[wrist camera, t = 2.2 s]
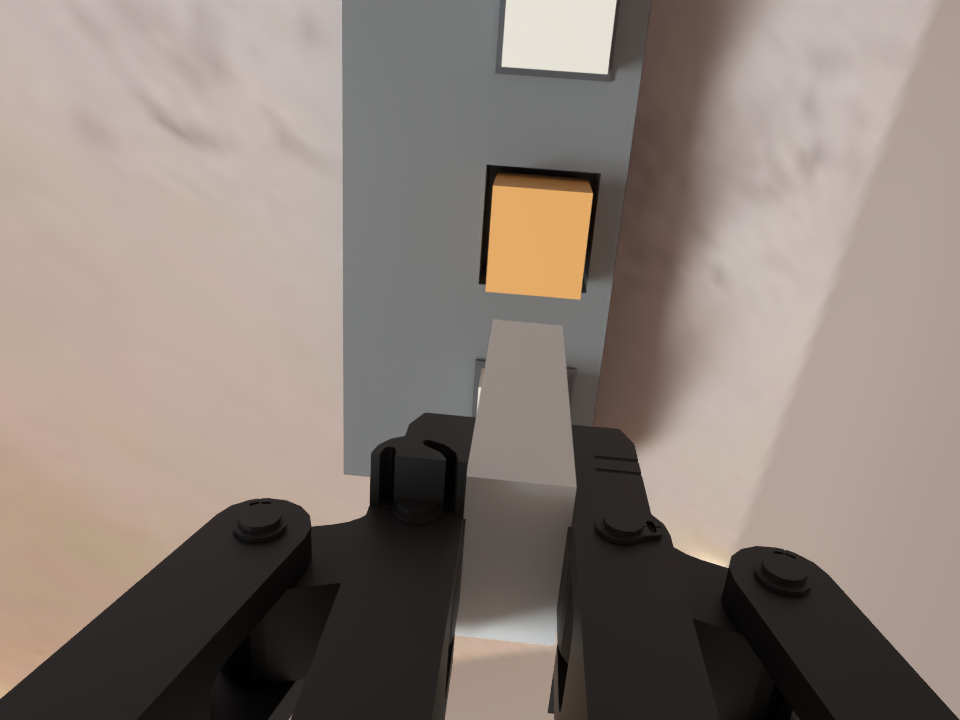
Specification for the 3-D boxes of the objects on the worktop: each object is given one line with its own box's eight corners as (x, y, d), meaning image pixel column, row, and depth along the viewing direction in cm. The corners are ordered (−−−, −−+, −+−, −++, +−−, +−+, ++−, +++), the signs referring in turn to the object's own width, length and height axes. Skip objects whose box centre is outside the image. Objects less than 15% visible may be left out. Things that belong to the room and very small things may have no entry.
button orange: (497, 172, 30) (492, 185, 28) (587, 178, 30) (593, 193, 27) (490, 269, 32) (485, 291, 29) (576, 276, 32) (580, 299, 29)
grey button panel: (366, -114, 30) (324, -152, 24) (651, -96, 29) (678, -131, 23) (362, 433, 39) (331, 500, 33) (578, 453, 38) (585, 525, 33)
